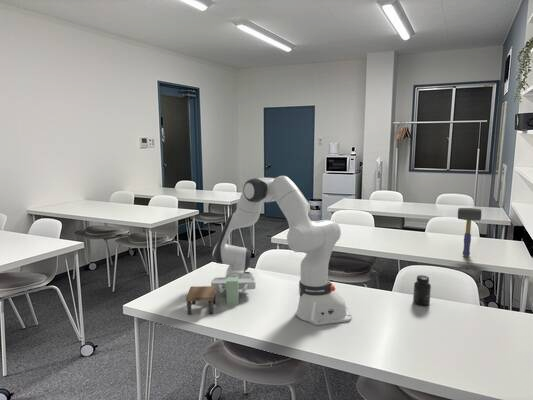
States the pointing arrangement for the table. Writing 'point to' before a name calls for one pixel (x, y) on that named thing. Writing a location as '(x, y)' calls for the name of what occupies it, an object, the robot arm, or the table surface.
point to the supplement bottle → (422, 291)
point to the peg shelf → (201, 296)
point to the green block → (232, 290)
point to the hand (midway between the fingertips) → (232, 290)
